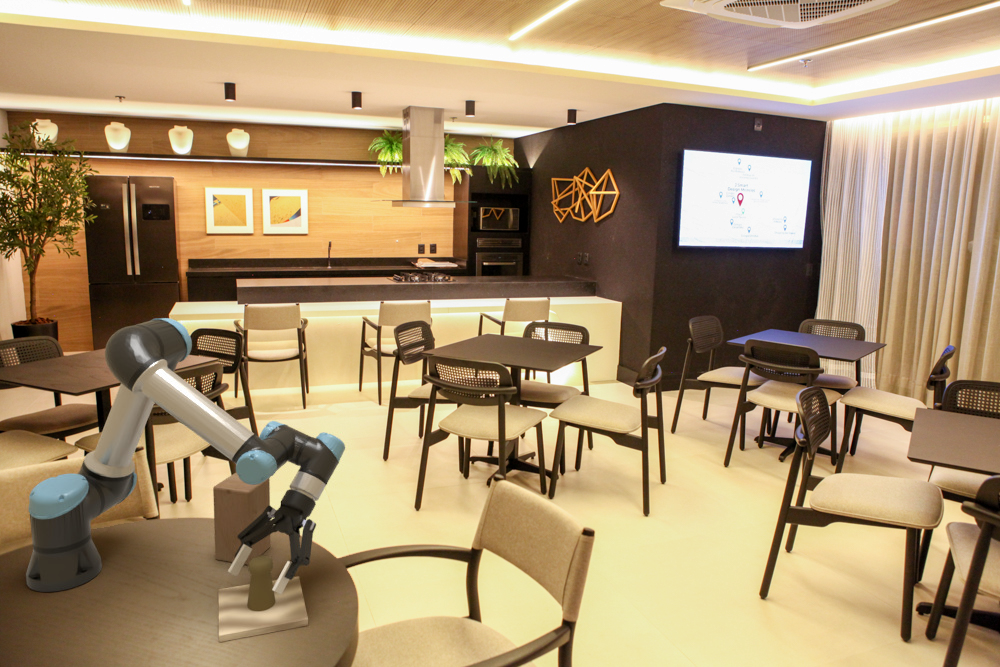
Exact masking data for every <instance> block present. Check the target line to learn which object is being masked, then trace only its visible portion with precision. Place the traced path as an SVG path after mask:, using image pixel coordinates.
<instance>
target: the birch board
mask: <svg viewBox="0 0 1000 667" xmlns="http://www.w3.org/2000/svg"><path fill="white" fill-rule="evenodd" d="M277 580H278V579H274V580H273V579H272V583H273V587H274V585H275V583H276V582H277ZM249 587H250V583H248V584H243V585H237V586H230V587H225V588H218V643H222V642H228V641H232V640H238V639H243V638H247V637H254V636H258V635H259V636H260V635H264V634H270V633H274V632H281V631H285V630H291V629H296V628H301V627H302V628H303V627H306V626H309V618H308V613H307V608H306V603H305V597H304V594H303V590H302V583H301V580H300V576H294V577H293V578H292V579H291V580H290V579H289V581H288V583H287V585H286V587H285V589H284V590H283V592H282V594H278V593H277V592H275V591H274V595H275V604H274V606H273V607H271V608H270V609H267V610H264V611H252V610H250V609H248V607H247V603H248V595H249Z"/></svg>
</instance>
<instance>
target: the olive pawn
mask: <svg viewBox="0 0 1000 667" xmlns="http://www.w3.org/2000/svg"><path fill="white" fill-rule="evenodd" d="M273 566H274V561H273V559H272V557H270V556H268V555H261V556H257V557H255V558H253V559H252V560H251V561H250V562H249V565H247V568H248V571H249V574H250V579H249V580H250V581H249V584H250V587H249V595H248V603H247V607H248V609H250V610H252V611H264V610H267V609H270V608H271V607H273V606H274V604H275V595H274V591H273V590H272V589H273V583H272V581H273V578H272V570H273V568H274V567H273Z"/></svg>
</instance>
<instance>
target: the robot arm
mask: <svg viewBox="0 0 1000 667" xmlns="http://www.w3.org/2000/svg"><path fill="white" fill-rule="evenodd" d="M192 347H193V342H192V338H191V335H190V333H189V332H188V329H187V328H186V327H185V326H184V324H182V323H181V322H179V321H178V320H175V319H172V318H170V317H169V318H168V317H167V318H166V317H165V318H164V317H161V318H153V319H151V320H149V321H144V322H142V323H137V324H135V325H134V324H133V325H129V326H124V327H122V328H120V329H118V330H116V331H115V332H113V334H112V335H111V336H110V337H109V339H108V341H107V342H106V345H105V349H104V358H105V363H106V366H107V367H108V370H109V371H110V372H111V374H112V375H113V376H114V378H115V379H116V380H117V381H118V382H119V383H120V385H119V387H118V390H117V393H116V396H115V398H114V400H113V403H112V406H111V408H110V411H109V413H108V416H107V419H106V421H105V424H104V426H103V429H102V431H101V434H100V437H99V439H98V441H97V445H96V447H95V449H94V450H92V451H90V452H88V453H87V454H86V455H85V456H84V459H83V461H82V464H81V466H80V469H79V471H78V472H77V473H64V474H58V475H57V476H55V477H54V476H50V477H48V478H47V479H44V480H42V481H41V482H39V483H38V484H37V485H35V486H34V487H33V488H32V490H31V491H30V493H29V496H28V498H29V499H28V502H29V503H28V512H29V522H30V530H31V542H32V553H31V556H30V560H29V563H28V567H27V570H26V573H25V577H26V585H27V587H28V588H29V589H30V590H33V591H35V592H40V593H41V592H44V593H51V592H52V593H53V592H60V591H66V590H69V589H73V588H75V587H79V586H82V585H83V584H86V583H88V582H90V581H91V580H94V579H95V577H97V576H98V575H99V574H100V572H101V570H102V568H103V567H102V565H103V564H102V557H101V555H100V553H99V551H98V549H97V547H96V545H95V543H94V541H93V539H92V528H91V522H92V521H93V520H95V519H96V518H98V517H99V516H100V515H102V514H104V513H105V512H107V511H109V510H110V509H112V508H113V507H114V506H116V505H119V504H120V503H121V502H124V501H125V500H126V498H128V497H129V496H130V495H131V494H132V492H133V491H134V490H135V487H136V485H137V480H138V474H137V473H136V472H135V471H136V464H135V461H134V460H133V457H134V454H135V451H136V450H137V447H138V445H139V442H140V439H141V438H142V434H143V432H144V429H145V427H146V425H147V421H148V419H149V417H150V415H151V412H152V410H153V408H154V405H157V406H159V407H160V408H161V409H162V410H164V411H165V412H166V413H168V414H170V416H172V417H173V418H174V419H175V420H177V421H178V422H179V423H181V424H182V425H184V426H185V427H186V428H188V429H189V430H190V431H192V432H193V433H194V434H195V435H196V436H198V437H200V438H201V439H202V440H203V441H205V442H207V444H209V445H211V447H213V448H214V449H215V450H217V451H218V452H219V453H221V454H222V455H223V456H225V457H226V458H228V459H229V460H230V461H232V462H233V463H234V464H235V473H237V474H238V476H239V478H240V479H241V480H242V481H243V482H245V483H247V484H250V485H257V484H260V483H262V482H264V481H265V480H267V479H268V478H269V479H271V478H272V477H273V476H274V475H275V474H276V472H277V471H278V470H279V469H280V468H282V467H283V466H284V465H285V464H286V463H287V462H288V463H291V464H293V465H295V466H297V467H299V469H298V470H297V472H296V474H295V476H294V478H293V479H292V481H291V483H290V485H289V489H287V490H286V491H285V493H284V494H283V497H282V498H281V501H280V506H279V507H278V509H275V507H273V506H271V505H270V506H267V507H266V509H265V510H264V512H263V513H262V514H261V515H260V516H259V517H258V518H257V519H255V520H254V521H253V522H252V523H251V524H250V525H249V526H248V527H246V528H245V529H244V530H243V531H242V532H241V533H240V534H239V535H238V536H237V538H238V539H239V540H240V541H241V545H240V547H239V549H238V551H237V552H236V554H235V557H236V558H235V560H234V561H233V562H231V565H230V567H229V568H228V570H227V572H228V573H229V574H231V575H233V576H235V577H238V576H239V574H240V572H241V570H242V569H243V567H244V565H245V564H244V563H245V561H246V560H247V558H248V556H249V554H250V553H251V551H252V545H254V544H255V543H257V542H258V541H260V540H262V539H263V538H265V537H267V536H268V535H270V536H271V535H272V534H273V533H277V532H279V533H281V534H286V535H288V538H289V548H290V549H289V550H290V559H289V560H287V561H286V563H285V565H284V567H283V569H282V571H281V573H280V574H279V576H278V578H277V579H276V580H277V582H276V583H275V585H274V587H273V589H272V590H273V591H275V592H277V593H278V594H282V592H283V590H284V589H285V587H286V585H287V583H288V581H289V579H290V580H291V579H292V578H293V577H295V575H296V573H297V571H298V569H299V567H300V566H309V565H310V563H311V552H312V545H313V534H314V532H315V529H316V526H317V523H316V522H314V521H313V520H312V519H310V518H309V517H310V516H311V514H312V513H313V511H314V509H315V507H316V501H319V499H320V498H321V496H322V494H323V492H324V490H325V488H326V486H327V485H328V483H329V481H330V479H331V477H332V475H333V474H334V472H335V470H336V469H337V467H338V465H339V464H340V460H341V458H342V456H343V454H344V452H345V450H346V445H345V443H344V441H343V440H342V439H341V438H339V437H337V436H336V435H334V434H331V433H328V432H320V433H319V434H318V436H316V437H313V436H310V435H308V434H306V433H305V432H302V431H299V430H297V429H295V428H293V427H291V426H289V425H288V424H284V423H282V422H279V421H276V420H272V421H269V422H268V423H267V424H266V425H265V426H264V427H263V429H262V430H261V432H260V435H259V436H258V435H257V434H255V433H254V432H253V431H251V430H250V429H249V428H248V427H246V426H245V425H244V424H242V423H241V422H240V421H238V420H237V419H236V418H234V417H233V416H231V414H229V413H228V412H227V411H225V410H224V409H222V407H220V406H219V405H217V404H216V403H214V402H213V401H212V400H211V399H209V397H207V396H205V395H204V394H203V393H202V392H200V391H199V390H197V389H196V388H195V387H194V386H193V385H191V384H190V383H188V382H187V381H186V380H184V378H182V377H181V376H180V375H178V374H177V373H175V370H176V369H177V366H178V364H179V363H180V362H181V363H182V362H183V361H184V360H186V358H187V357H188V356H190V354H191V351H192ZM307 518H309V519H307ZM302 528H303V529H302ZM300 529H302V535H301V532H300ZM300 538H301V539H300ZM300 540H301V542H300Z"/></svg>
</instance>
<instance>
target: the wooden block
mask: <svg viewBox="0 0 1000 667" xmlns="http://www.w3.org/2000/svg"><path fill="white" fill-rule="evenodd" d="M270 489H271V486H270V478H268V479H267V480H265V481H264V482H262V483H260V484H257V485H250V484H247V483H245V482H243V481H242V480H241V479H240V478H239V476H238V474H237V472H234V473H233V474H231V475H230V476H228V477H227V478H225V479H223V480H222V481H221V482H219V483H217V484H216V485H214V486H213V489H212V490H213V494H212V495H213V518H214V520H213V521H214V527H213V528H214V549H215V550H214V554H215V555H214V556H215V557H214V558H215V560H218V561H224V562H230V563H233V561H234V560H235V558H236V557H235V554H236V552H237V551H238V549H239V547H240V545H241V541H240V540H239V539H238V538H237V536H238V535H239V534H240V533H241V532H242V531H243V530H244V529H245V528H246V527H248V526H249V525H250V524H251V523H252V522H253V521H254V520H255V519H257V518H258V517H259V516H260V515H261V514H262V513H263V512H264V510H265V509H266V507H267V506H271V502H270V501H271V497H270V496H271V495H270V494H271V492H270V491H271V490H270ZM270 547H271V534H270V535H268V536H267V537H265V538H263V539H262V540H260V541H258V542H257V543H255V544H254V545H252V551H251V553H250V554H249V556H248V558H247V560H246V561H245V563H244V565H246V566H249V562H250V561H251V560H252V559H253V558H255V557H257V556H263V555H264V553H265V552H266V551H267V550H269V549H270Z"/></svg>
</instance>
